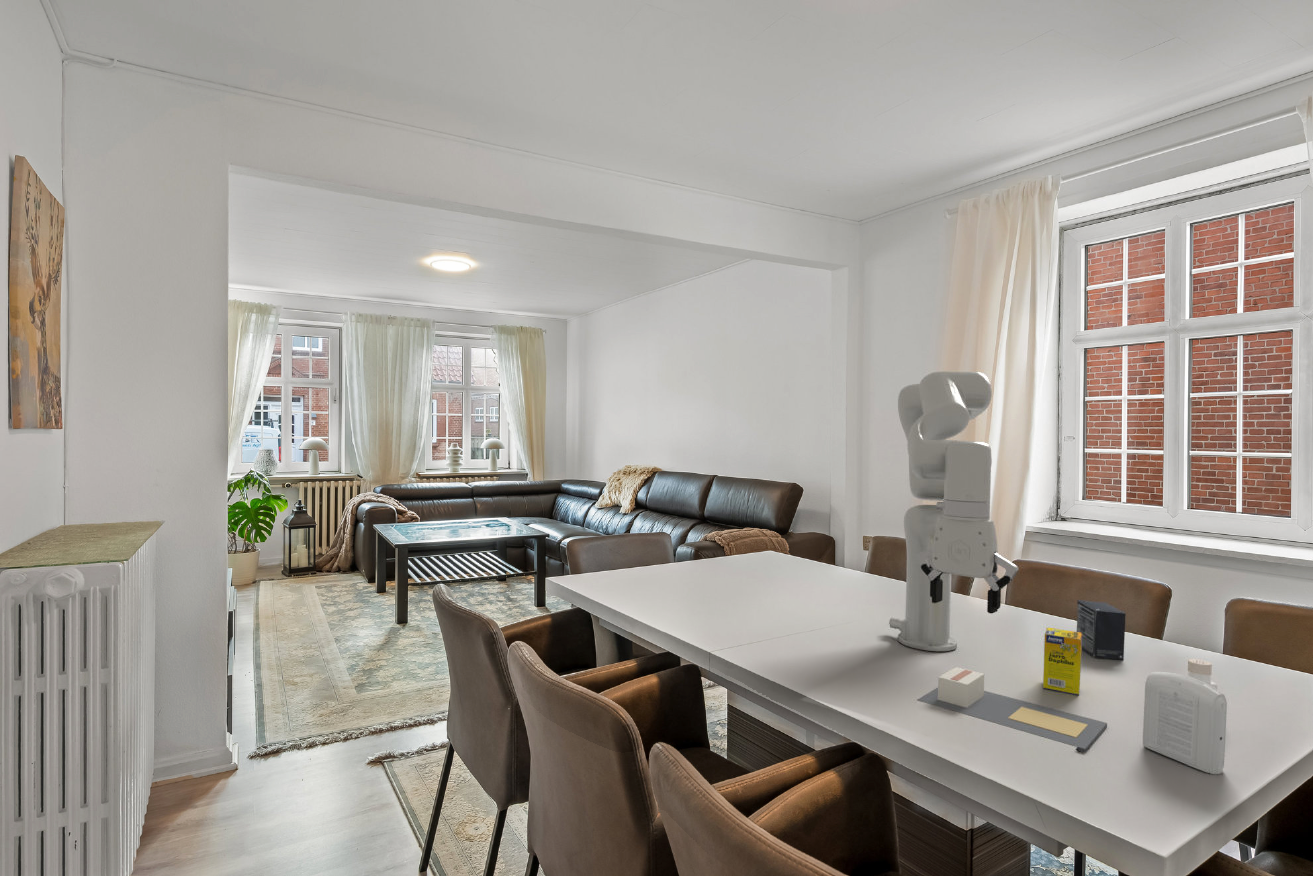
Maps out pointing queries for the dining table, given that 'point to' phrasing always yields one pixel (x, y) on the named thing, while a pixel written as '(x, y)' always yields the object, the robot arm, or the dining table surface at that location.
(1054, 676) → the supplement box
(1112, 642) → the small box
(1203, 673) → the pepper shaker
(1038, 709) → the mat
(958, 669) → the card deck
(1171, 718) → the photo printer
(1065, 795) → the dining table surface
